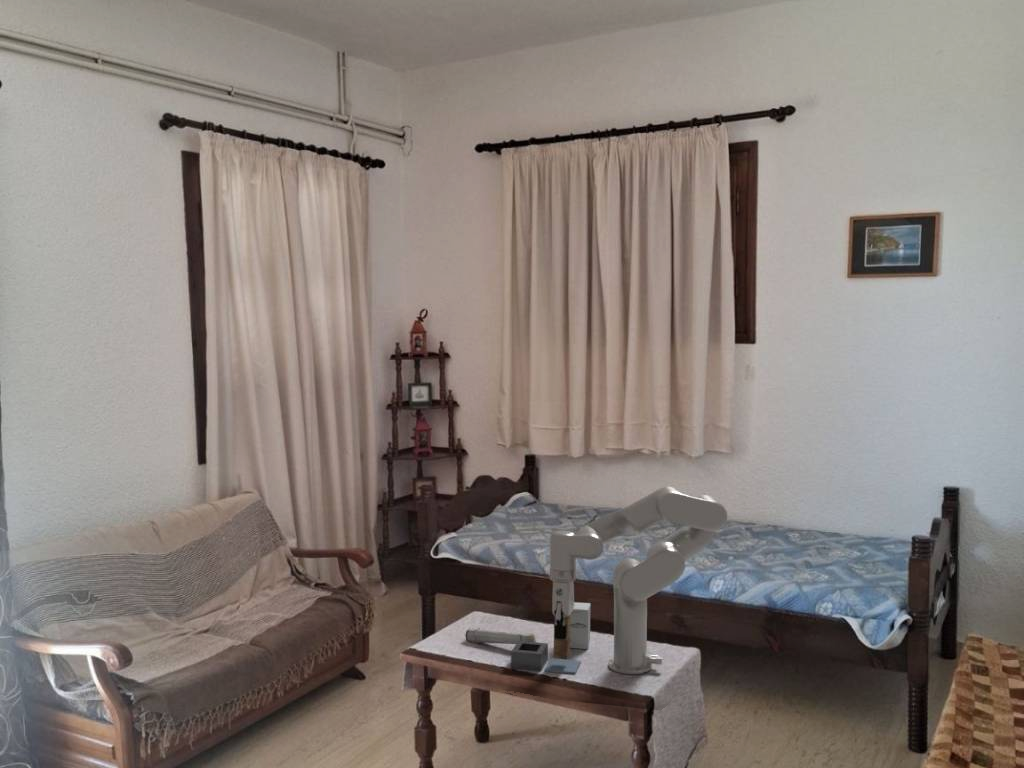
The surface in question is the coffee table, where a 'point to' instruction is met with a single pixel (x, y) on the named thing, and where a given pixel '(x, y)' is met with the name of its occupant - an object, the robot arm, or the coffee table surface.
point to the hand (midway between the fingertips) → (562, 635)
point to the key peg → (562, 641)
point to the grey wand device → (497, 637)
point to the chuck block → (529, 655)
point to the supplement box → (580, 626)
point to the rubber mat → (562, 666)
